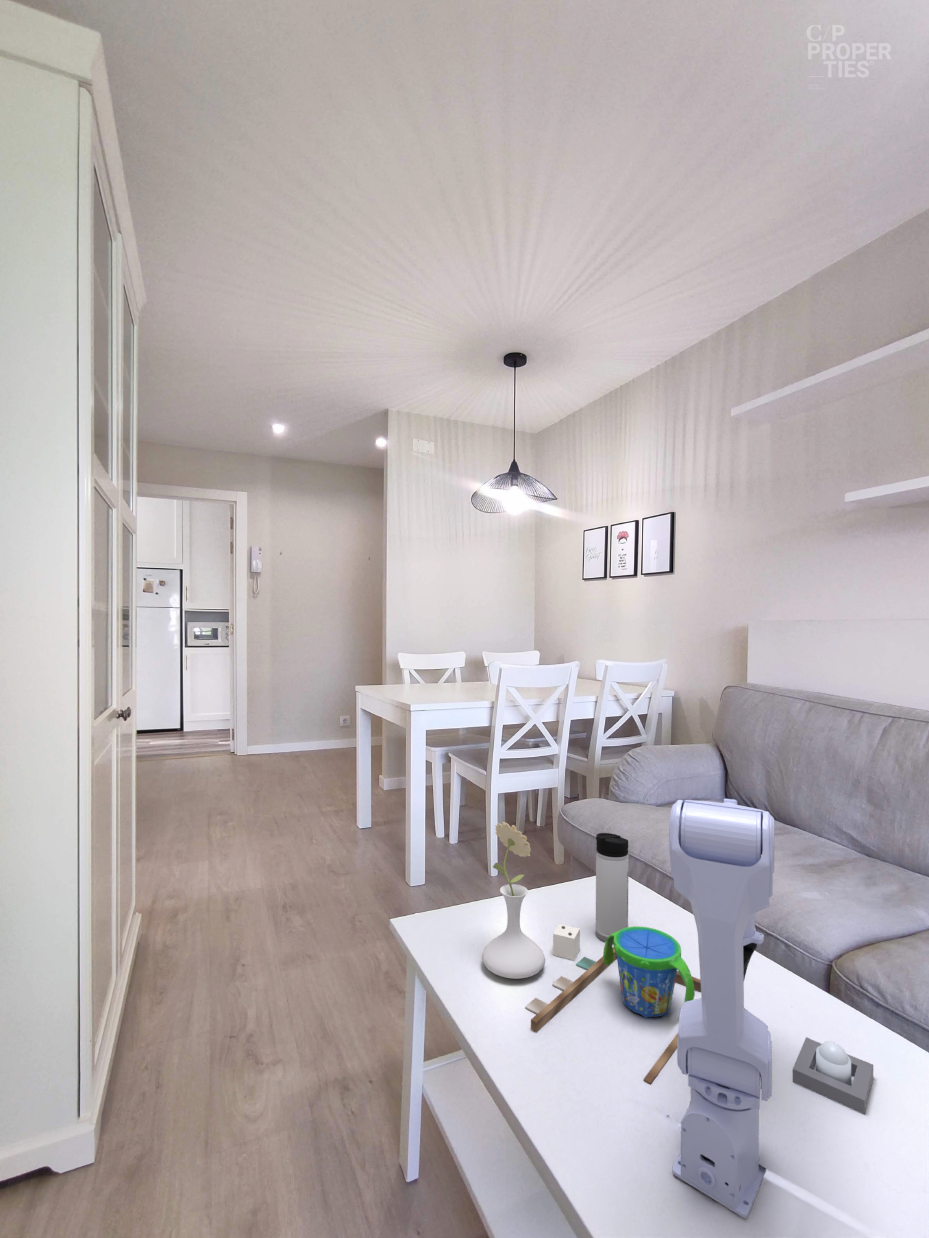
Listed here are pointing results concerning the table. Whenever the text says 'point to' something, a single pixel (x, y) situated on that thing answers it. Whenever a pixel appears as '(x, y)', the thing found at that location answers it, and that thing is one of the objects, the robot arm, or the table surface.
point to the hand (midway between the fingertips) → (731, 993)
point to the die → (566, 942)
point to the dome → (833, 1062)
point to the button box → (831, 1087)
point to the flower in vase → (513, 920)
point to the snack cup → (648, 969)
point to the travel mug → (611, 884)
